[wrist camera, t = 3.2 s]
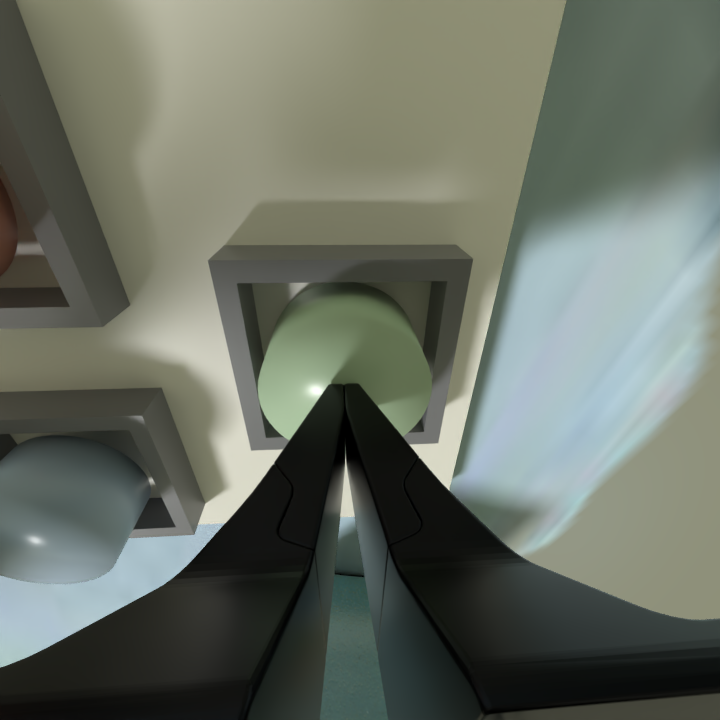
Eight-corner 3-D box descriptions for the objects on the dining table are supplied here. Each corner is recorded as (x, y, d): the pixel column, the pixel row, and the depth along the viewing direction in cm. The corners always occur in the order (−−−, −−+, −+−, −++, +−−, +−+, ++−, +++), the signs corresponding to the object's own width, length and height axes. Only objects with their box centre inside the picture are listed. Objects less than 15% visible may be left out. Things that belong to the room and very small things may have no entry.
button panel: (55, 504, 18) (8, 565, 15) (-415, -110, 7) (-852, -256, 4) (436, 487, 19) (452, 540, 16) (549, -60, 8) (649, -154, 5)
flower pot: (415, 565, 23) (453, 768, 16) (368, 620, 28) (380, 801, 20) (288, 548, 21) (262, 773, 14) (258, 610, 25) (226, 809, 18)
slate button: (46, 521, 14) (-5, 588, 12) (-23, 437, 11) (-103, 503, 9) (166, 515, 14) (137, 579, 12) (125, 432, 12) (80, 495, 10)
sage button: (280, 406, 13) (269, 458, 11) (262, 282, 10) (243, 318, 8) (407, 402, 13) (421, 452, 11) (421, 280, 10) (443, 315, 8)
